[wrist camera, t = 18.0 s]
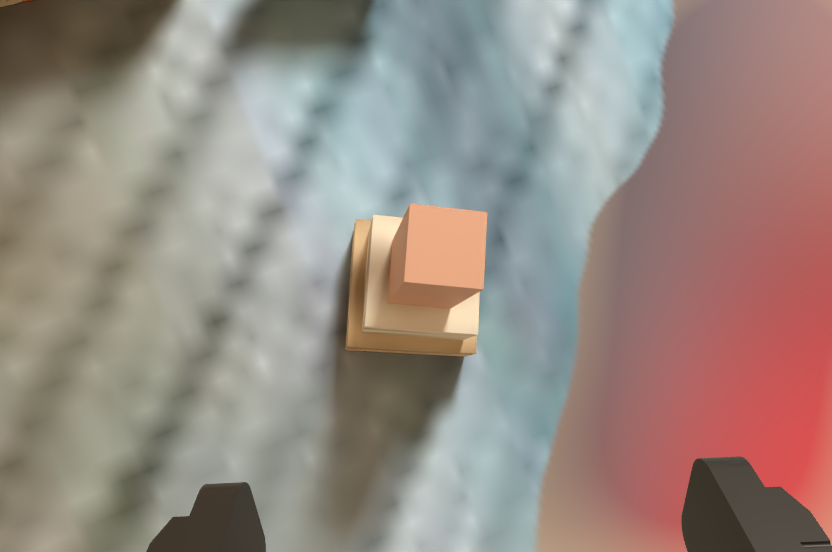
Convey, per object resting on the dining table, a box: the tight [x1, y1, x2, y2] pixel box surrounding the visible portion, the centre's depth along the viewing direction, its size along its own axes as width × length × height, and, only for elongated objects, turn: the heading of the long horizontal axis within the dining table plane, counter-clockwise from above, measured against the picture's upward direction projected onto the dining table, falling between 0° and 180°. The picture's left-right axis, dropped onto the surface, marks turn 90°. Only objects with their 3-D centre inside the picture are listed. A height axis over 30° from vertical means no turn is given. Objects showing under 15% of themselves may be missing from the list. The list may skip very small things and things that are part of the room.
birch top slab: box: [361, 215, 480, 340], centre depth 45 cm, size 8×8×4 cm
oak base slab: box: [345, 219, 476, 357], centre depth 49 cm, size 10×10×4 cm
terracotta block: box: [387, 204, 487, 309], centre depth 38 cm, size 4×4×9 cm
